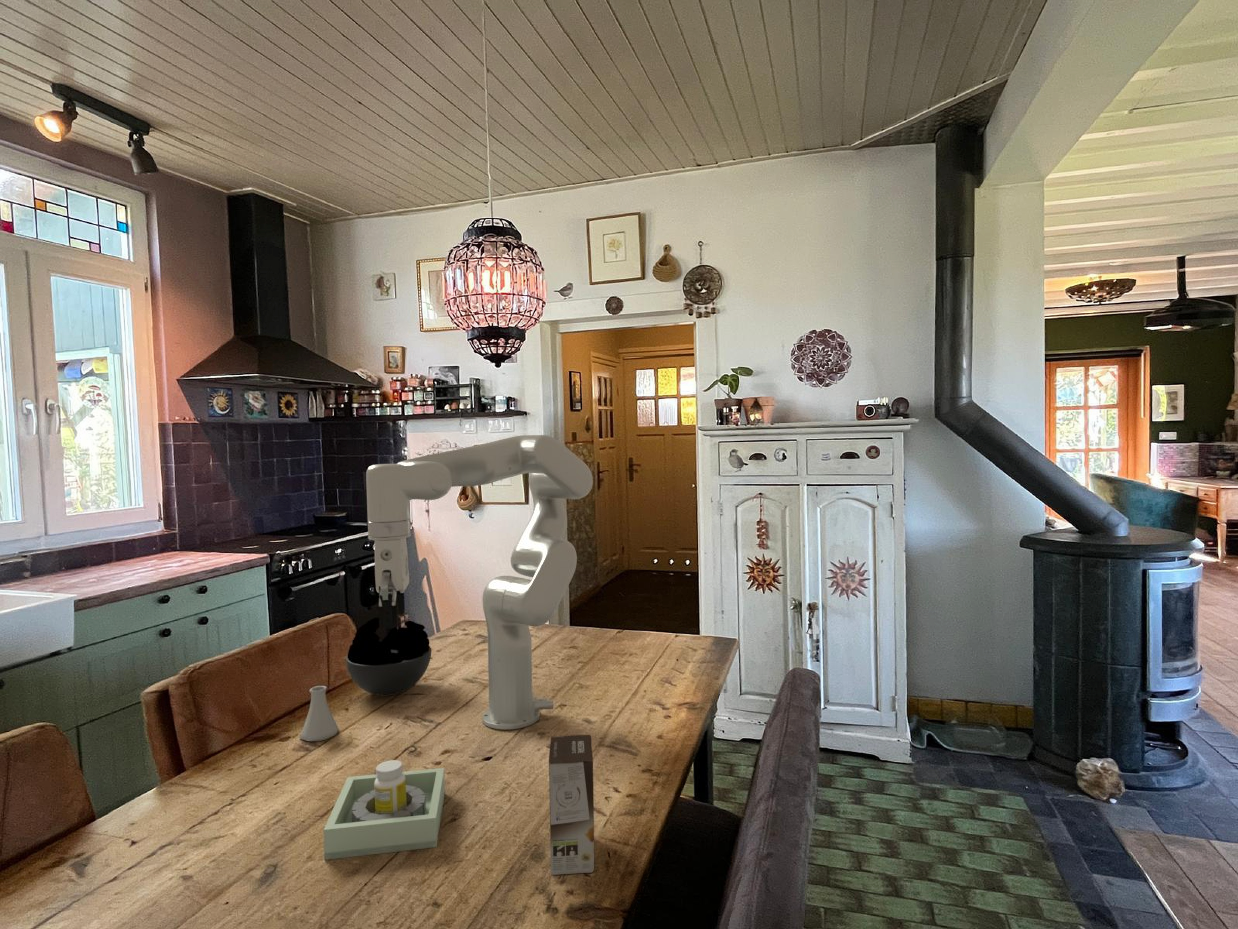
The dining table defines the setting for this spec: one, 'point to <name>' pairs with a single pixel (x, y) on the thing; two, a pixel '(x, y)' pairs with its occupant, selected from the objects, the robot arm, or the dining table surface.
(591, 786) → the coffee box
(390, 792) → the supplement bottle
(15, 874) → the dining table surface
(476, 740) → the dining table surface
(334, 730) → the flask
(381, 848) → the socket box
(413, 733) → the dining table surface
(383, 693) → the bowl of black rocks
